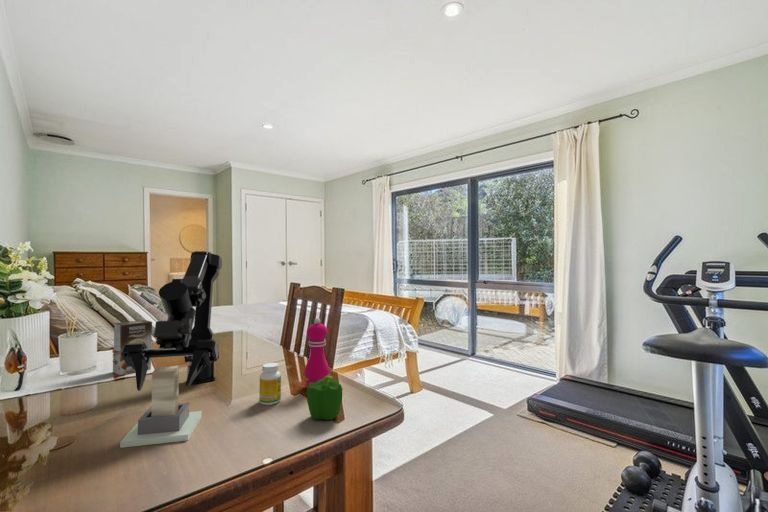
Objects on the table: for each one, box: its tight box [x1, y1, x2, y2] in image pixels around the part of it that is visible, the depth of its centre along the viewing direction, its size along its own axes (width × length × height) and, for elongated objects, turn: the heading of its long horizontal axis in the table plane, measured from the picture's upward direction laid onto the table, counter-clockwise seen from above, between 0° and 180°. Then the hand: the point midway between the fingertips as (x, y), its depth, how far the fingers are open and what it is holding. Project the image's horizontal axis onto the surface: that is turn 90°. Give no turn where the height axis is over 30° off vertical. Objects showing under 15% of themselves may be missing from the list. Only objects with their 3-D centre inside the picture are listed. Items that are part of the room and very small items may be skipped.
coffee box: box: [112, 319, 153, 376], centre depth 121 cm, size 9×6×16 cm
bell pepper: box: [306, 374, 343, 421], centre depth 86 cm, size 8×8×10 cm
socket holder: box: [119, 402, 203, 449], centre depth 78 cm, size 12×12×4 cm
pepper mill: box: [303, 317, 330, 389], centre depth 106 cm, size 7×7×20 cm
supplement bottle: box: [258, 362, 282, 406], centre depth 95 cm, size 5×5×10 cm
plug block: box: [151, 365, 180, 417], centre depth 78 cm, size 4×4×12 cm
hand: (163, 388), depth 77 cm, fingers open, 9 cm apart
